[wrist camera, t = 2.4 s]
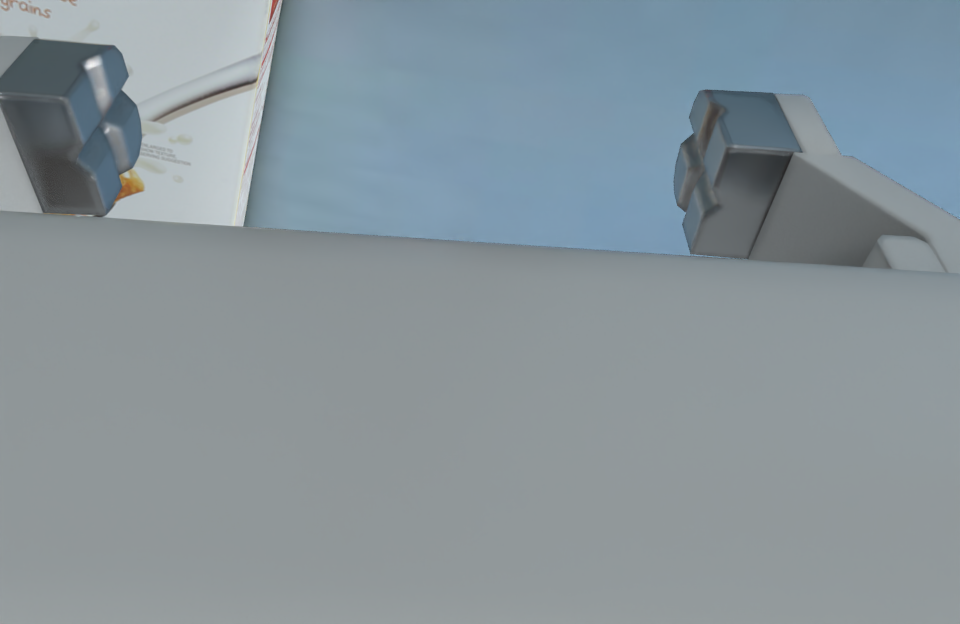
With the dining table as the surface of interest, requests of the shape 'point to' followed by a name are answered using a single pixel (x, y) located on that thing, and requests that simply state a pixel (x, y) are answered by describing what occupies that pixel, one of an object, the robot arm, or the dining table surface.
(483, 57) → the dining table surface
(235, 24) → the cereal box
